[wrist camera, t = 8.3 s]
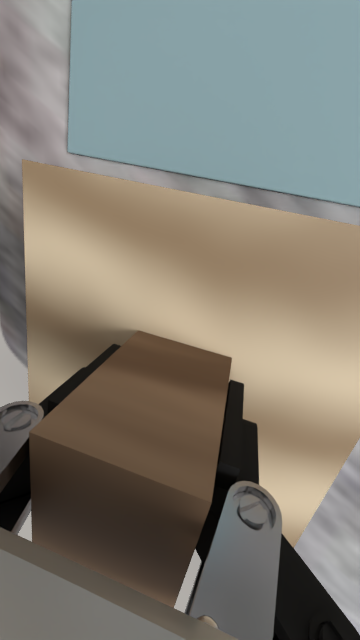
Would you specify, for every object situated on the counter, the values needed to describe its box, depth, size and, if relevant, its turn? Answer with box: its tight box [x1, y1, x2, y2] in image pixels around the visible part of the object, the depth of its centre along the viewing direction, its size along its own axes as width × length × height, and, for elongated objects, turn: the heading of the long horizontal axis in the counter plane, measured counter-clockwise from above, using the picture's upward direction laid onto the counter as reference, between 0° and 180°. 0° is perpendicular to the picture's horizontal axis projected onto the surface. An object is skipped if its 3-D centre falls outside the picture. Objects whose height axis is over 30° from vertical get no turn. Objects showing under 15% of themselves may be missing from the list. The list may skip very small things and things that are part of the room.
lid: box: [22, 159, 360, 608], centre depth 9 cm, size 15×15×7 cm
